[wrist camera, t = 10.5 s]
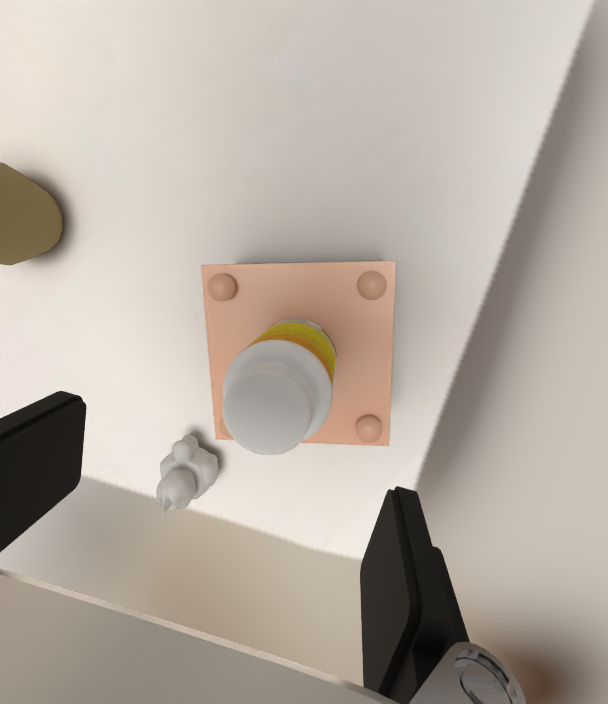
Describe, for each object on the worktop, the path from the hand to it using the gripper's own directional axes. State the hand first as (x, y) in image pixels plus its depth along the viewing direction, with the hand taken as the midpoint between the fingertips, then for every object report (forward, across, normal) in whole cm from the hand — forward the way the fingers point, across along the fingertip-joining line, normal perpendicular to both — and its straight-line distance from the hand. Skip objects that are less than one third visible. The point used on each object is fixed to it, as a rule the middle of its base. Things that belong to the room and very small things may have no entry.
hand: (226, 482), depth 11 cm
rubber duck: (+23, +8, +16) cm, 29 cm away
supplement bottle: (+16, 0, 0) cm, 16 cm away
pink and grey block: (+23, 0, +1) cm, 23 cm away
